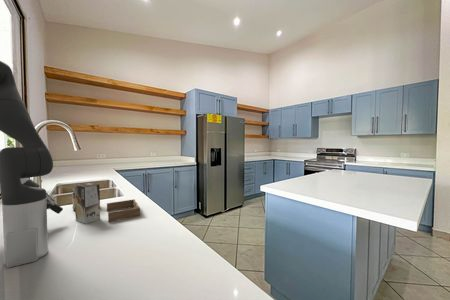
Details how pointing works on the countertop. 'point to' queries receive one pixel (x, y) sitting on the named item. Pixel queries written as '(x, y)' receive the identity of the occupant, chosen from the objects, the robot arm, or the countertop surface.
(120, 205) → the walnut pen
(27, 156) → the robot arm
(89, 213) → the coffee box
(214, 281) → the countertop surface
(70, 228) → the countertop surface
